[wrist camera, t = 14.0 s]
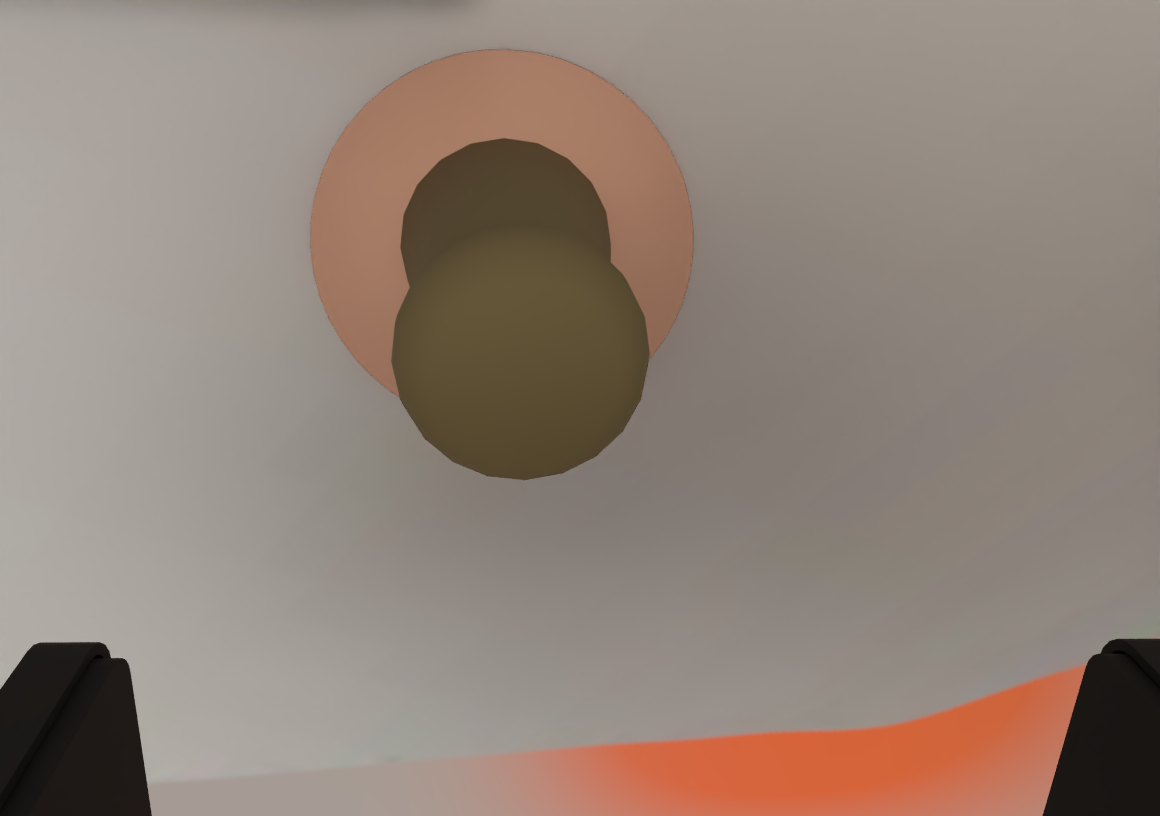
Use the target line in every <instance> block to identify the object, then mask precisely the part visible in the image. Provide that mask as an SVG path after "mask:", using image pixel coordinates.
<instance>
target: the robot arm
mask: <svg viewBox="0 0 1160 816" xmlns="http://www.w3.org/2000/svg"><path fill="white" fill-rule="evenodd" d="M0 816H152V815H151V808H150V801H149V794H148V788H147V781H146V774H145V767H144V760H143V754H142V747H141V740H140V733H139V727H138V720H137V713H136V706H135V700H134V693H133V686H132V679H131V673H130V668H129V665H128V663H127V661H126V660H125V659H123V658H111V657H110V653H109V650H108V649H107V647H106V645H105V644H103V643H100V642H71V643H38V644H35V645H33V646H32V647H31V648H30V649H29V650H28V651H27V653H26V654H25V655H24V657H23V658H22V660H21V661H20V662H19V664H18V665H17V667H16V668H15V670H14V671H13V672H12V674H11V675H10V677H9V678H8V679H7V681H6V682H5V684H4V685H3V686H2V688H1V689H0ZM1043 816H1160V639H1115V640H1112V641H1109V642H1108V643H1107V644H1106V645H1105V646H1104V647H1103V650H1102V652H1101V654H1096V655H1093V656H1092V657H1091V658H1090V659H1089V661H1088V663H1087V666H1086V668H1085V672H1084V675H1083V679H1082V682H1081V686H1080V689H1079V693H1078V696H1077V700H1076V703H1075V706H1074V710H1073V713H1072V717H1071V720H1070V724H1069V727H1068V730H1067V734H1066V737H1065V741H1064V744H1063V748H1062V751H1061V755H1060V758H1059V762H1058V765H1057V768H1056V772H1055V776H1054V779H1053V782H1052V786H1051V789H1050V793H1049V796H1048V799H1047V803H1046V806H1045V810H1044V813H1043Z"/></svg>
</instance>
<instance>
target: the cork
mask: <svg viewBox="0 0 1160 816" xmlns="http://www.w3.org/2000/svg"><path fill="white" fill-rule="evenodd" d="M400 249H401V253H402V258H403V262H404V267H405V271H406V275H407V280H408V283H409V287H410V288H409V290H408V292H407V294H406V297H405V299H404V301H403V303H402V305H401V307H400V309H399V312H398V314H397V317H396V321H395V328H394V338H393V347H392V357H391V363H392V367H393V371H394V376H395V380H396V384H397V388H398V392H399V396H400V399H401V401H402V403H403V405H404V407H405V408H406V410H407V412H408V413H409V415H410V416H411V418H412V419H413V421H414V423H415V424H416V426H417V427H418V429H419V430H420V432H421V434H422V435H423V437H424V438H425V439H426V440H427V441H428V442H430V443H431V444H432V445H433V446H434V447H436V448H437V449H438V450H439V451H441V452H442V453H443V454H444V455H445V456H447V457H448V458H449V459H450V460H451V461H453V462H455V463H457V464H459V465H462V466H464V467H467V468H469V469H472V470H474V471H476V472H479V473H481V474H484V475H486V476H492V477H501V478H511V479H521V480H528V479H533V478H539V477H544V476H550V475H555V474H561V473H564V472H566V471H568V470H570V469H572V468H574V467H576V466H578V465H580V464H582V463H584V462H586V461H588V460H590V459H592V458H594V457H596V456H597V455H598V454H599V453H600V452H601V451H602V450H603V449H604V448H605V447H606V446H607V445H609V444H610V443H611V442H612V441H613V440H614V439H615V438H616V437H617V436H618V435H619V434H620V433H621V432H622V431H623V430H624V428H625V426H626V424H627V423H628V421H629V419H630V417H631V416H632V414H633V412H634V410H635V409H636V407H637V405H638V403H639V402H640V400H641V396H642V391H643V386H644V381H645V376H646V371H647V366H648V361H649V356H650V351H649V344H648V336H647V328H646V321H645V316H644V314H643V312H642V310H641V308H640V306H639V304H638V302H637V300H636V298H635V296H634V294H633V292H632V290H631V288H630V286H629V284H628V282H627V280H626V278H625V277H624V275H623V274H622V273H621V272H620V271H619V270H618V269H617V268H616V267H615V266H614V265H613V264H612V263H611V242H610V235H609V228H608V221H607V213H606V210H605V208H604V206H603V204H602V202H601V200H600V198H599V196H598V194H597V192H596V190H595V188H594V186H593V184H592V182H591V181H590V180H589V179H588V178H587V177H586V176H585V175H584V174H583V173H582V172H581V171H580V170H579V169H578V168H577V167H576V166H575V165H574V164H573V163H572V162H571V161H570V160H569V159H568V158H566V157H564V156H562V155H560V154H558V153H556V152H554V151H552V150H550V149H548V148H547V147H545V146H543V145H541V144H539V143H534V142H527V141H521V140H514V139H508V138H501V139H495V140H489V141H483V142H477V143H471V144H469V145H467V146H465V147H463V148H461V149H460V150H458V151H456V152H454V153H452V154H450V155H448V156H446V157H445V158H443V159H441V160H440V161H439V162H438V163H437V164H436V165H435V166H434V167H433V168H432V169H431V170H430V171H429V172H428V173H427V175H426V176H425V177H424V178H423V179H422V180H421V181H420V182H419V183H418V184H417V186H416V188H415V190H414V193H413V195H412V197H411V199H410V201H409V204H408V206H407V208H406V210H405V212H404V215H403V224H402V234H401V244H400Z"/></svg>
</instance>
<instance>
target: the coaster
mask: <svg viewBox="0 0 1160 816" xmlns="http://www.w3.org/2000/svg"><path fill="white" fill-rule="evenodd" d="M501 138H508V139H514V140H521V141H527V142H534V143H539V144H541V145H543V146H545V147H547V148H548V149H550V150H552V151H554V152H556V153H558V154H560V155H562V156H564V157H566V158H568V159H569V160H570V161H571V162H572V163H573V164H574V165H575V166H576V167H577V168H578V169H579V170H580V171H581V172H582V173H583V174H584V175H585V176H586V177H587V178H588V179H589V180H590V181H591V182H592V184H593V186H594V188H595V190H596V192H597V194H598V196H599V198H600V200H601V202H602V204H603V206H604V208H605V210H606V213H607V221H608V228H609V235H610V242H611V263H612V264H613V265H614V266H615V267H616V268H617V269H618V270H619V271H620V272H621V273H622V274H623V275H624V277H625V278H626V280H627V282H628V284H629V286H630V288H631V290H632V292H633V294H634V296H635V298H636V300H637V302H638V304H639V306H640V308H641V310H642V312H643V314H644V316H645V321H646V328H647V336H648V344H649V351H650V356H649V359H650V358H651V357H652V355H653V354H654V353H655V352H656V350H657V349H658V348H659V347H660V345H661V344H662V342H663V340H664V339H665V337H666V335H667V334H668V332H669V330H670V329H671V327H672V325H673V323H674V321H675V319H676V317H677V314H678V312H679V310H680V307H681V305H682V303H683V299H684V296H685V293H686V289H687V286H688V282H689V278H690V271H691V265H692V259H693V223H692V214H691V206H690V202H689V198H688V194H687V190H686V186H685V183H684V180H683V177H682V175H681V172H680V170H679V167H678V165H677V162H676V160H675V158H674V156H673V154H672V153H671V151H670V149H669V147H668V145H667V143H666V142H665V140H664V138H663V137H662V135H661V134H660V133H659V131H658V130H657V129H656V127H655V126H654V125H653V123H652V122H651V121H650V119H649V118H648V117H647V116H646V115H645V114H644V113H643V112H642V111H641V110H640V109H639V108H638V107H637V106H636V105H635V104H634V103H633V102H632V101H631V100H630V99H629V98H628V97H627V96H625V95H624V94H623V93H621V92H620V91H619V90H618V89H616V88H615V87H614V86H612V85H611V84H610V83H608V82H607V81H605V80H604V79H602V78H600V77H598V76H597V75H595V74H593V73H591V72H590V71H588V70H586V69H585V68H582V67H580V66H577V65H575V64H572V63H570V62H567V61H565V60H563V59H560V58H556V57H552V56H548V55H544V54H540V53H537V52H530V51H521V50H512V49H492V50H478V51H472V52H466V53H460V54H455V55H452V56H448V57H445V58H442V59H439V60H436V61H432V62H430V63H428V64H426V65H424V66H421V67H419V68H417V69H415V70H413V71H411V72H409V73H407V74H405V75H404V76H402V77H401V78H399V79H398V80H396V81H395V82H393V83H392V84H390V85H389V86H387V87H386V88H384V89H383V90H382V91H381V92H380V93H379V94H378V95H376V96H375V97H374V98H373V99H372V100H371V101H370V102H369V103H367V104H366V105H365V106H364V107H363V109H362V110H361V111H360V112H359V113H358V114H357V116H356V117H355V118H354V119H353V120H352V121H351V123H350V124H349V125H348V126H347V127H346V129H345V131H344V132H343V134H342V135H341V137H340V138H339V140H338V142H337V143H336V145H335V146H334V148H333V150H332V152H331V154H330V156H329V158H328V160H327V163H326V165H325V167H324V169H323V171H322V174H321V178H320V181H319V184H318V188H317V191H316V194H315V198H314V205H313V211H312V218H311V246H310V248H311V256H312V264H313V272H314V276H315V280H316V284H317V288H318V291H319V295H320V298H321V301H322V303H323V305H324V308H325V310H326V313H327V315H328V318H329V320H330V322H331V323H332V325H333V327H334V329H335V330H336V332H337V334H338V336H339V337H340V339H341V341H342V342H343V343H344V345H345V346H346V347H347V349H348V350H349V351H350V353H351V354H352V355H353V357H354V358H355V359H356V360H357V361H358V363H359V364H360V365H361V366H362V367H363V368H364V369H365V370H366V371H367V372H368V373H369V374H370V375H371V376H372V377H373V378H375V379H376V380H377V381H378V382H380V383H381V384H382V385H383V386H385V387H386V388H387V389H388V390H390V391H391V392H392V393H394V394H396V395H397V396H399V392H398V388H397V384H396V380H395V376H394V371H393V367H392V363H391V357H392V347H393V338H394V328H395V321H396V317H397V314H398V312H399V309H400V307H401V305H402V303H403V301H404V299H405V297H406V294H407V292H408V290H409V288H410V287H409V283H408V280H407V275H406V271H405V267H404V262H403V258H402V253H401V249H400V244H401V234H402V224H403V215H404V212H405V210H406V208H407V206H408V204H409V201H410V199H411V197H412V195H413V193H414V190H415V188H416V186H417V184H418V183H419V182H420V181H421V180H422V179H423V178H424V177H425V176H426V175H427V173H428V172H429V171H430V170H431V169H432V168H433V167H434V166H435V165H436V164H437V163H438V162H439V161H440V160H441V159H443V158H445V157H446V156H448V155H450V154H452V153H454V152H456V151H458V150H460V149H461V148H463V147H465V146H467V145H469V144H471V143H477V142H483V141H489V140H495V139H501ZM399 397H400V396H399Z"/></svg>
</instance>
